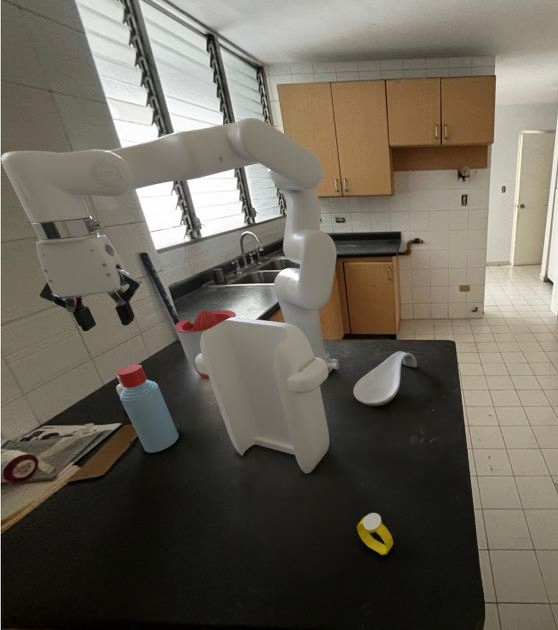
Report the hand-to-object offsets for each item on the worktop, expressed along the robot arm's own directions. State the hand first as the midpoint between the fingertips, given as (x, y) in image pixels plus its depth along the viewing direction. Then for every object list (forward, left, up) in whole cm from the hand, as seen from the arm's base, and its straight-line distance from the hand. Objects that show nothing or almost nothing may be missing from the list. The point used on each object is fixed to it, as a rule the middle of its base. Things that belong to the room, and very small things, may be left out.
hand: (109, 324), depth 65 cm
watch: (-56, +14, -30) cm, 65 cm away
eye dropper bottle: (+17, -9, -30) cm, 35 cm away
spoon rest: (-46, -28, -30) cm, 62 cm away
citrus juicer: (+10, -30, -30) cm, 43 cm away
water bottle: (0, 0, -29) cm, 29 cm away
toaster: (-30, -3, -30) cm, 42 cm away
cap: (0, 0, -13) cm, 13 cm away
